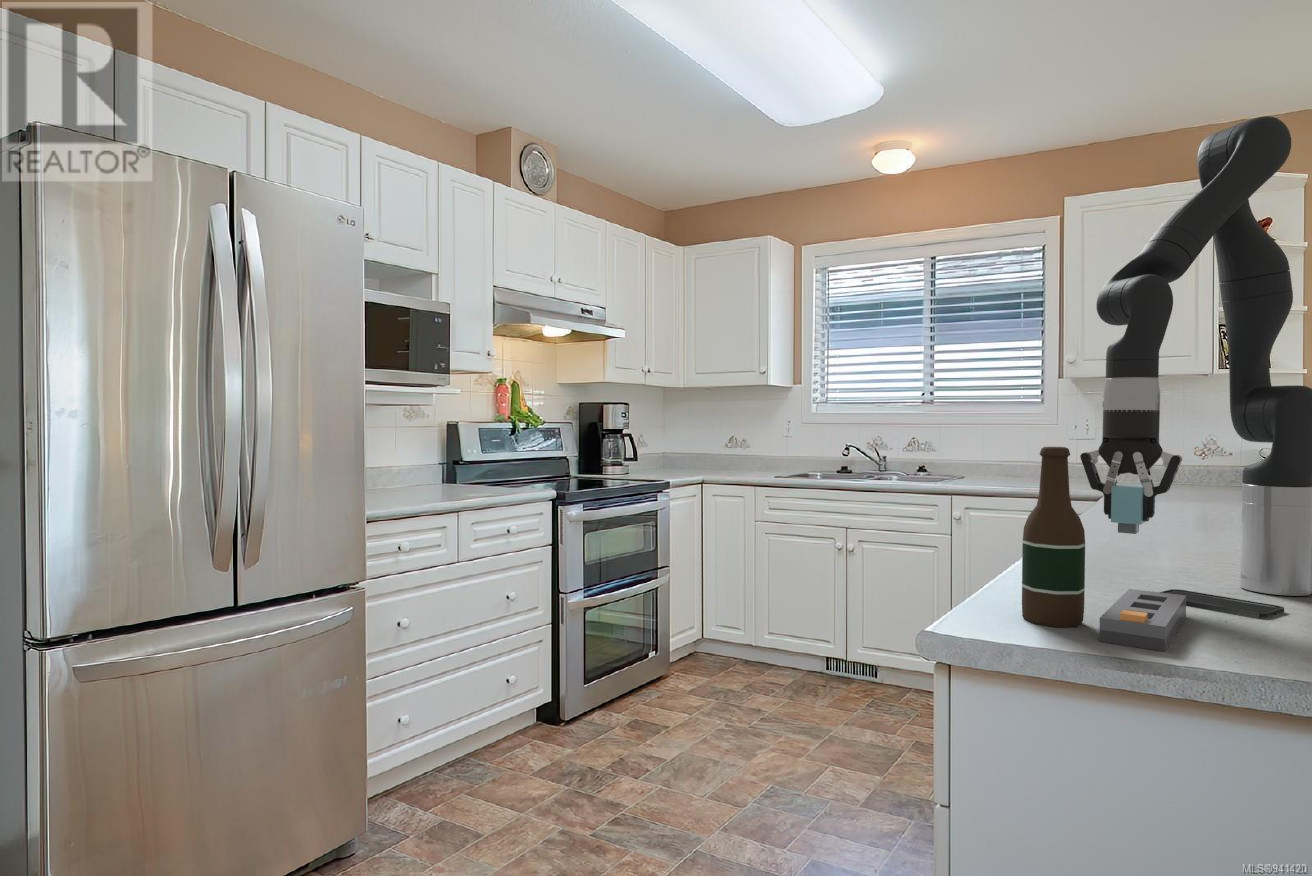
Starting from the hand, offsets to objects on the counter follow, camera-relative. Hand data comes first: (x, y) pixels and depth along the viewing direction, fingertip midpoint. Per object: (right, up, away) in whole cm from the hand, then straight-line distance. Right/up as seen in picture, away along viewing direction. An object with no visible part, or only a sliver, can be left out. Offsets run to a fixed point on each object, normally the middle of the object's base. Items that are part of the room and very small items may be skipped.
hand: (1128, 519), depth 124 cm
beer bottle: (-18, -13, -13) cm, 26 cm away
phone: (+11, -13, -3) cm, 18 cm away
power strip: (-8, -13, -17) cm, 23 cm away
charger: (0, -2, 0) cm, 2 cm away
